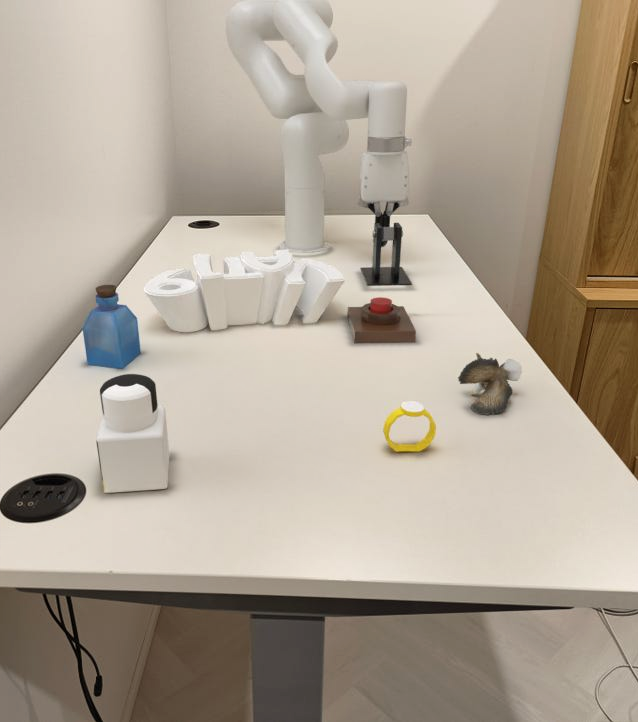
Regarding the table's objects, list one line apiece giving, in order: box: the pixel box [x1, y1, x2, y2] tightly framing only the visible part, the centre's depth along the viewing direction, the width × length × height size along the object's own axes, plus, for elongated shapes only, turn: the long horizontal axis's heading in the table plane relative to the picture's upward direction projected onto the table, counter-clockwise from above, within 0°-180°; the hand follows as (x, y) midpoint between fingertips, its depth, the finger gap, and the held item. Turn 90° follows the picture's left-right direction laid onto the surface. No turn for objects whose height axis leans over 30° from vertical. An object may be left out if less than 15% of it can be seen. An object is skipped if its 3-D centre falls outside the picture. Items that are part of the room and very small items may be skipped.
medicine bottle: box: [95, 373, 170, 494], centre depth 76 cm, size 7×7×12 cm
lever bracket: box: [360, 222, 413, 287], centre depth 140 cm, size 12×9×12 cm
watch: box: [382, 400, 437, 453], centre depth 81 cm, size 6×3×6 cm, turn 93°
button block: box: [347, 302, 417, 344], centre depth 117 cm, size 12×10×4 cm
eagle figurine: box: [457, 352, 523, 416], centre depth 92 cm, size 8×7×9 cm
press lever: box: [372, 226, 394, 248], centre depth 144 cm, size 13×3×3 cm, turn 178°
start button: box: [369, 296, 393, 313], centre depth 116 cm, size 4×4×2 cm
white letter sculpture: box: [143, 249, 346, 333], centre depth 122 cm, size 35×16×11 cm, turn 94°
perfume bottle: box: [81, 284, 142, 370], centre depth 106 cm, size 6×6×12 cm
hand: (381, 233), depth 148 cm, fingers closed
